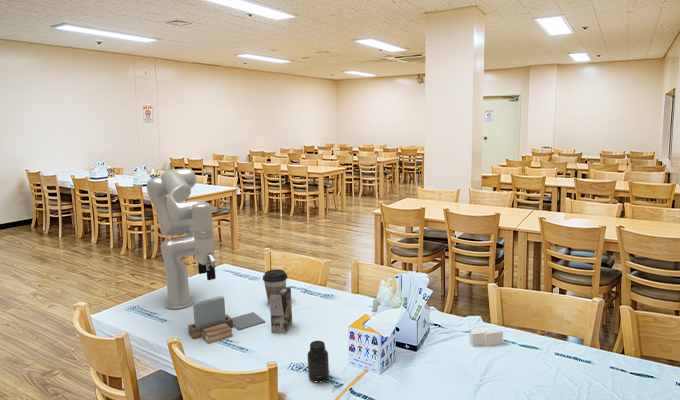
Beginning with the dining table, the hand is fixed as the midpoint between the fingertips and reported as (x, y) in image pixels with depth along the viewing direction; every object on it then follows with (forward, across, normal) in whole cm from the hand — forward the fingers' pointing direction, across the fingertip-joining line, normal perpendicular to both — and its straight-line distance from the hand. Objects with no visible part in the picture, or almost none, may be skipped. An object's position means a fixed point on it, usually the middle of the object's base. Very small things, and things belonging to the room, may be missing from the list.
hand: (207, 276), depth 186 cm
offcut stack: (+24, +6, 0) cm, 24 cm away
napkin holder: (+25, +74, +77) cm, 110 cm away
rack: (+23, -1, 0) cm, 23 cm away
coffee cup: (+23, -9, +34) cm, 42 cm away
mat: (+23, 0, +15) cm, 28 cm away
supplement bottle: (+24, +55, +16) cm, 62 cm away
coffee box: (+24, +15, +24) cm, 37 cm away
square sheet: (+23, -1, 0) cm, 23 cm away
